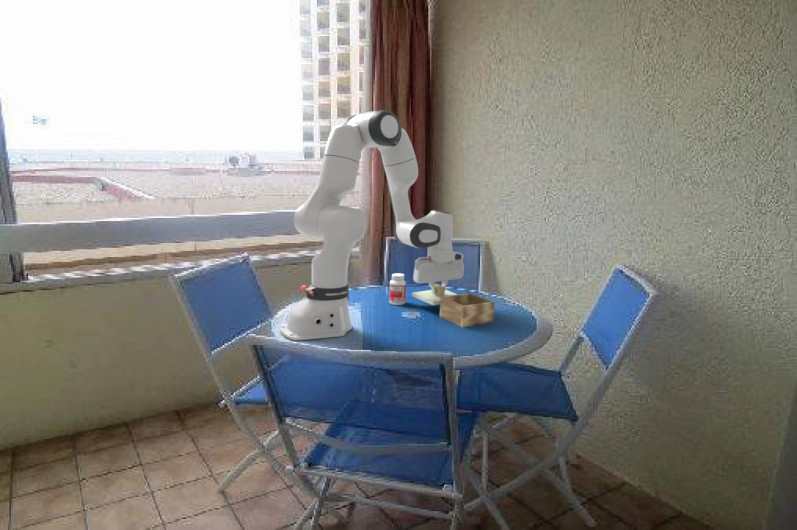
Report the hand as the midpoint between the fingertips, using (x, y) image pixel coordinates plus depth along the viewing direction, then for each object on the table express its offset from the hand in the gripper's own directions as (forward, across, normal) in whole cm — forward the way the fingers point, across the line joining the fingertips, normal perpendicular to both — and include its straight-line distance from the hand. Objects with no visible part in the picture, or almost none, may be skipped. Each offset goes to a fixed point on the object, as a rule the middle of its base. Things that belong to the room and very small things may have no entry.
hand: (438, 292), depth 186 cm
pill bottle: (+6, -10, +12) cm, 17 cm away
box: (+6, +1, -16) cm, 17 cm away
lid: (+2, 0, 0) cm, 2 cm away
